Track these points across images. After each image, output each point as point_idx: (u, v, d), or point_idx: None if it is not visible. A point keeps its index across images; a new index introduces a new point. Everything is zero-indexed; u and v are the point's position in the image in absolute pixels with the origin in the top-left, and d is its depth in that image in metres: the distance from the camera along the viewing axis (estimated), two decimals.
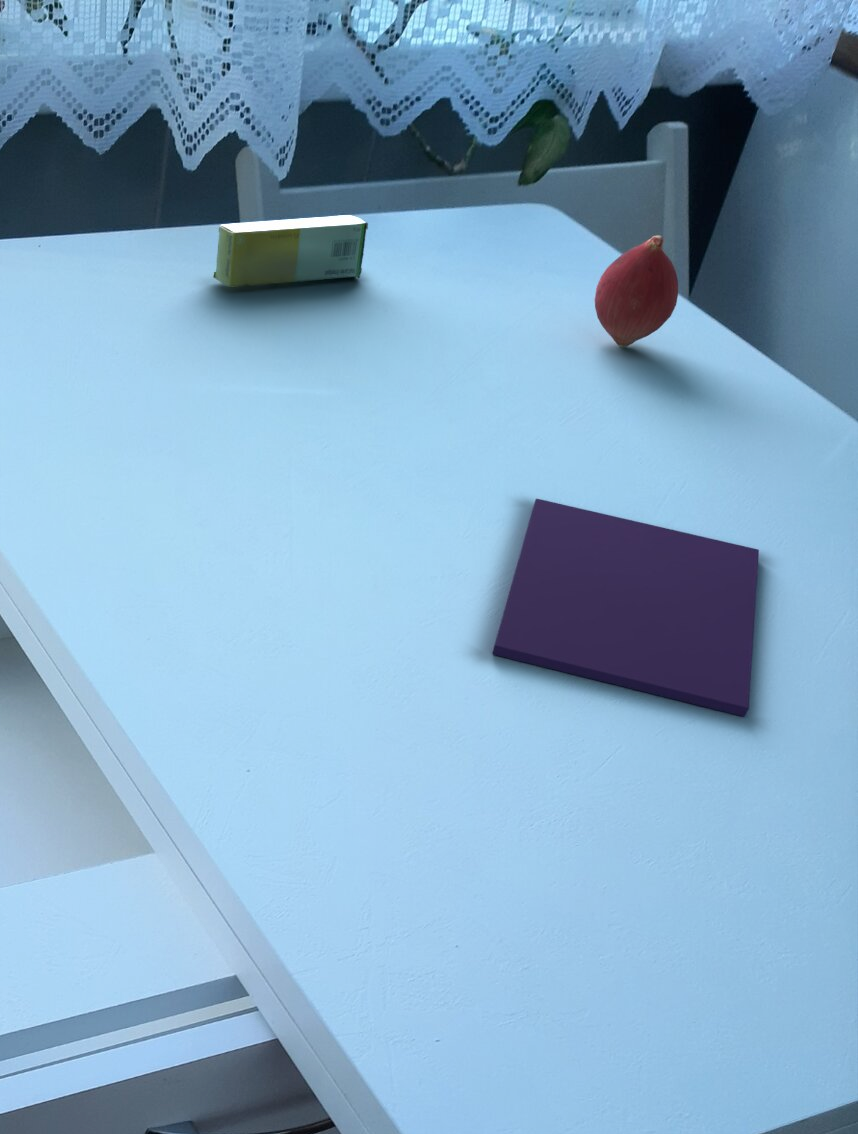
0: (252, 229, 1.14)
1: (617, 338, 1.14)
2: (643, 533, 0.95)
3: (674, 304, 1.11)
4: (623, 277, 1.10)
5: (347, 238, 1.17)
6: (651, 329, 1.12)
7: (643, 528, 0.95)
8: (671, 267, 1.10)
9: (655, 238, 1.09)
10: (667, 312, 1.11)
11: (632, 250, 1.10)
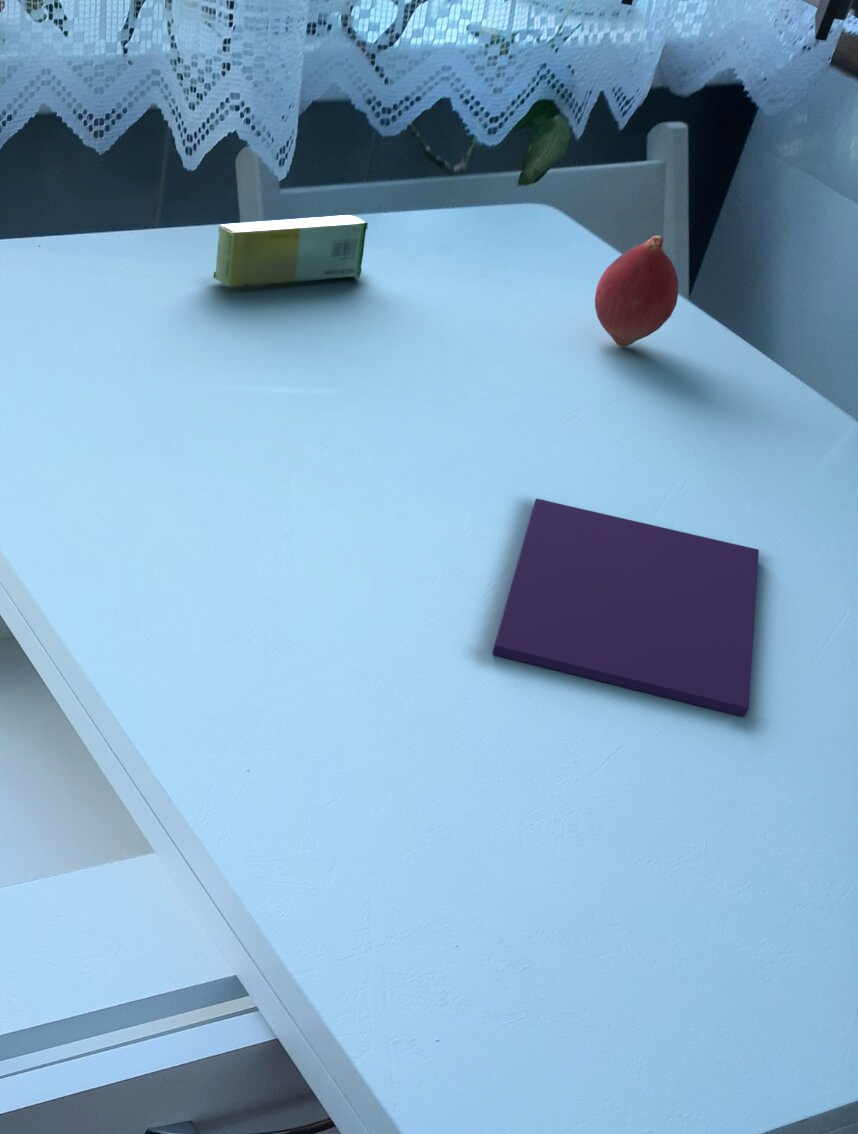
0: (252, 229, 1.14)
1: (617, 338, 1.14)
2: (643, 533, 0.95)
3: (674, 304, 1.11)
4: (623, 277, 1.10)
5: (347, 238, 1.17)
6: (651, 329, 1.12)
7: (643, 528, 0.95)
8: (671, 267, 1.10)
9: (655, 239, 1.09)
10: (667, 312, 1.11)
11: (632, 250, 1.10)
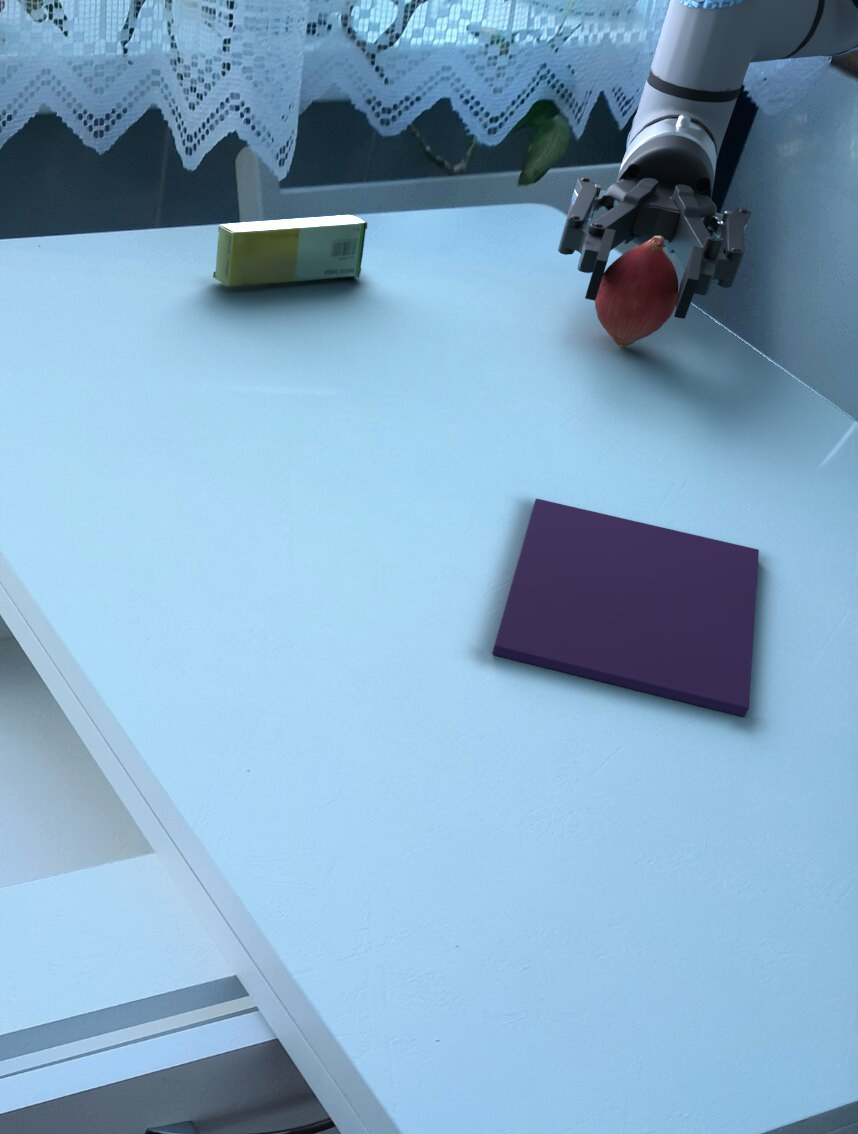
0: (252, 229, 1.14)
1: (617, 338, 1.14)
2: (643, 533, 0.95)
3: (674, 304, 1.11)
4: (623, 277, 1.10)
5: (346, 237, 1.17)
6: (652, 329, 1.12)
7: (643, 528, 0.95)
8: (671, 268, 1.10)
9: (656, 239, 1.09)
10: (667, 312, 1.11)
11: (633, 250, 1.10)
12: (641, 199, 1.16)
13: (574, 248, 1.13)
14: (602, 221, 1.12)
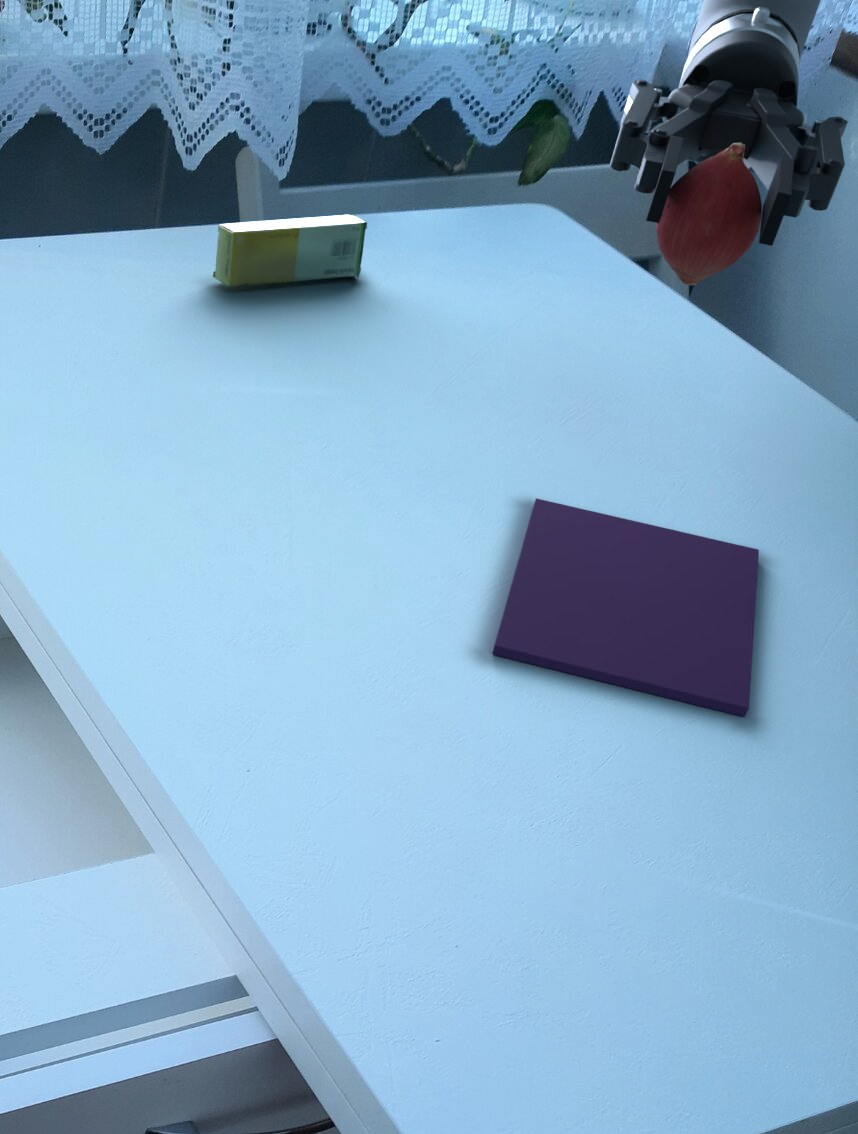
0: (252, 228, 1.14)
1: (683, 273, 0.92)
2: (643, 533, 0.95)
3: (756, 230, 0.89)
4: (693, 196, 0.88)
5: (346, 237, 1.17)
6: (727, 261, 0.90)
7: (643, 528, 0.95)
8: (754, 183, 0.88)
9: (735, 146, 0.87)
10: (747, 240, 0.89)
11: (705, 162, 0.88)
12: (712, 104, 0.94)
13: (630, 162, 0.91)
14: (666, 128, 0.91)
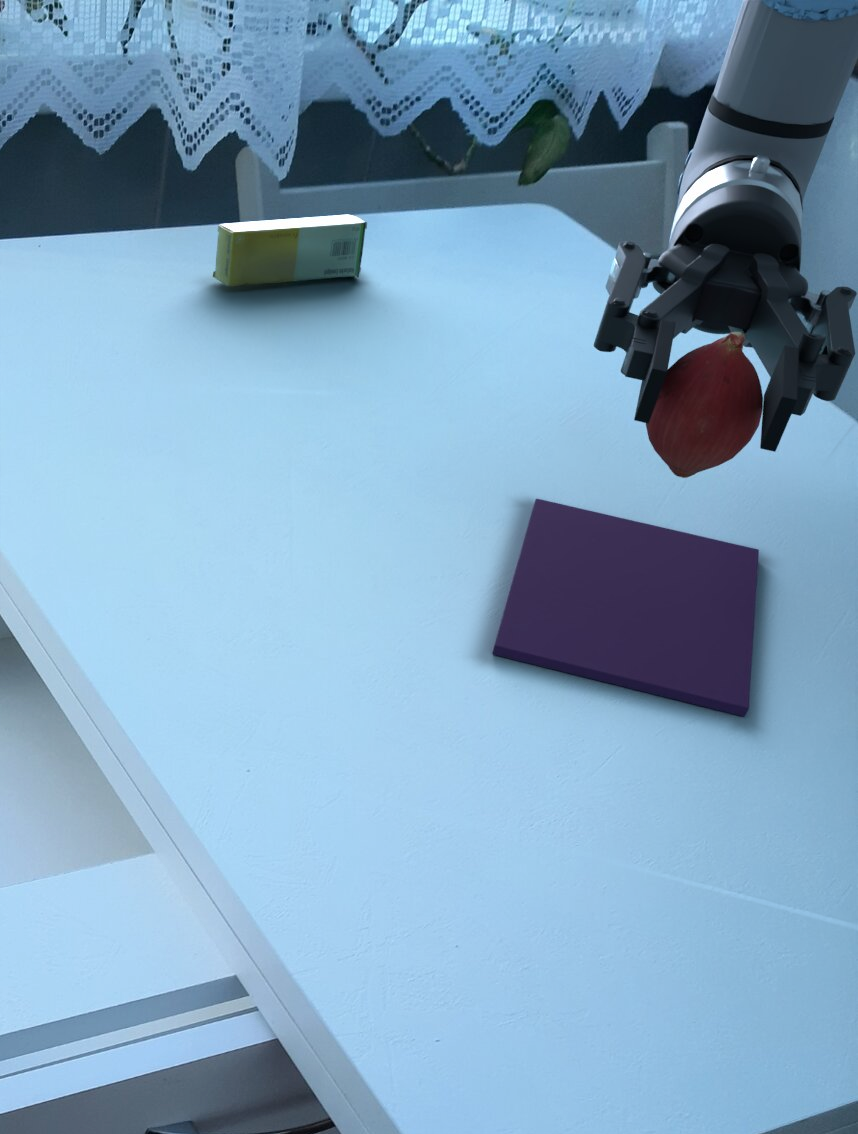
0: (252, 228, 1.14)
1: (676, 467, 0.82)
2: (643, 533, 0.95)
3: (757, 425, 0.80)
4: (687, 389, 0.79)
5: (346, 237, 1.17)
6: (725, 458, 0.81)
7: (643, 528, 0.95)
8: (754, 376, 0.79)
9: (733, 336, 0.78)
10: (747, 436, 0.80)
11: (700, 351, 0.79)
12: (707, 275, 0.84)
13: (617, 344, 0.82)
14: (656, 308, 0.81)
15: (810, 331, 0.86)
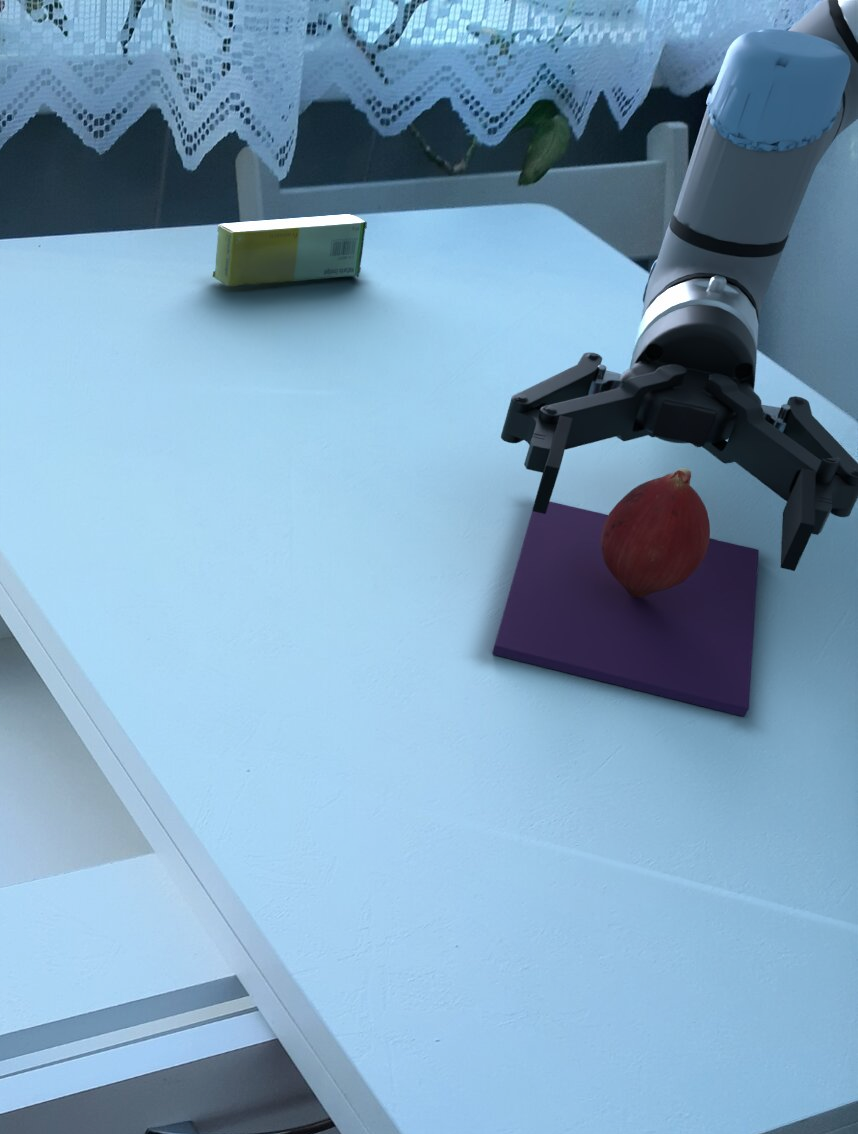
0: (252, 228, 1.14)
1: (630, 589, 0.88)
2: None
3: (704, 552, 0.86)
4: (638, 521, 0.84)
5: (346, 237, 1.17)
6: (675, 582, 0.86)
7: None
8: (701, 508, 0.84)
9: (681, 473, 0.83)
10: (695, 563, 0.85)
11: (650, 485, 0.85)
12: (644, 389, 0.90)
13: (521, 437, 0.89)
14: (563, 406, 0.88)
15: None
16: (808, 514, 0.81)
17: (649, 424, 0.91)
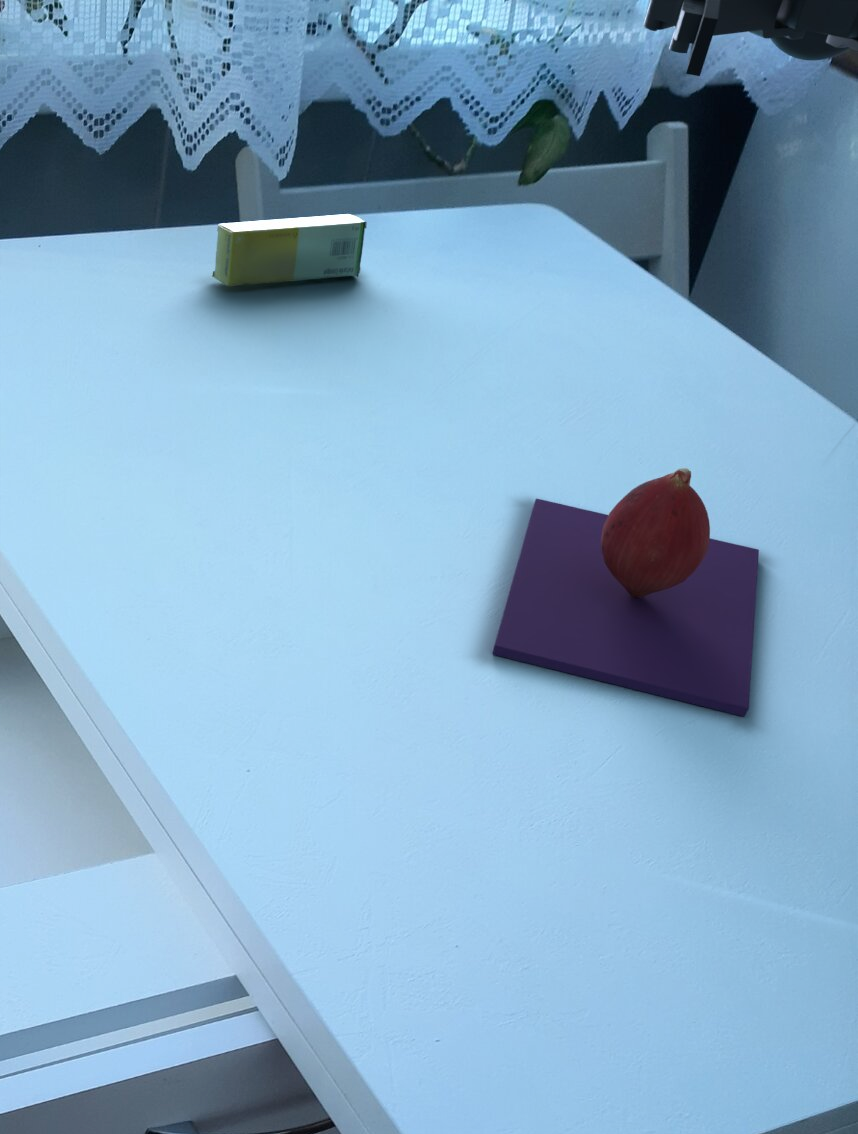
0: (251, 228, 1.14)
1: (630, 589, 0.88)
2: None
3: (704, 552, 0.86)
4: (638, 521, 0.84)
5: (345, 237, 1.17)
6: (675, 582, 0.86)
7: None
8: (701, 508, 0.84)
9: (681, 473, 0.83)
10: (695, 563, 0.85)
11: (650, 485, 0.85)
12: None
13: (666, 20, 0.87)
14: None
15: None
16: None
17: (792, 17, 0.90)
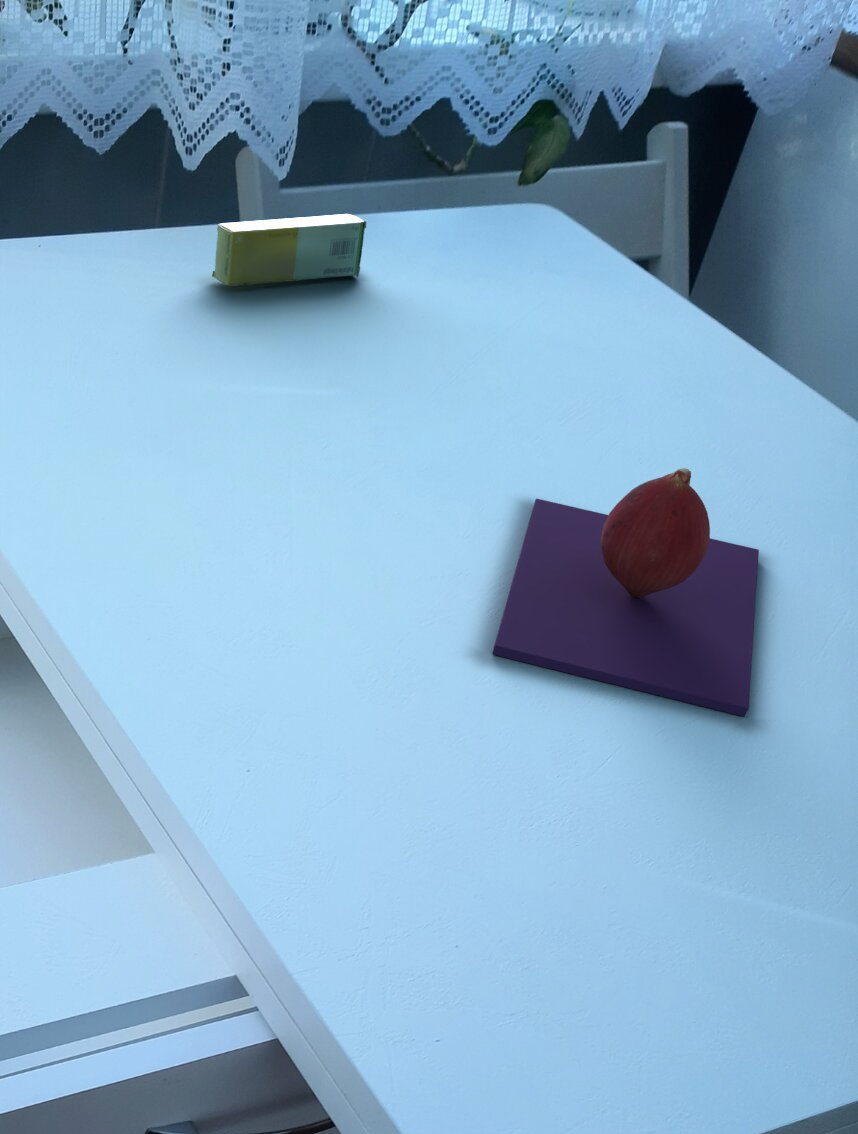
0: (251, 228, 1.14)
1: (630, 589, 0.88)
2: None
3: (704, 552, 0.86)
4: (638, 521, 0.84)
5: (345, 237, 1.17)
6: (675, 582, 0.86)
7: None
8: (701, 508, 0.84)
9: (681, 473, 0.83)
10: (695, 563, 0.85)
11: (650, 485, 0.85)
12: None
13: None
14: None
15: None
16: None
17: None
